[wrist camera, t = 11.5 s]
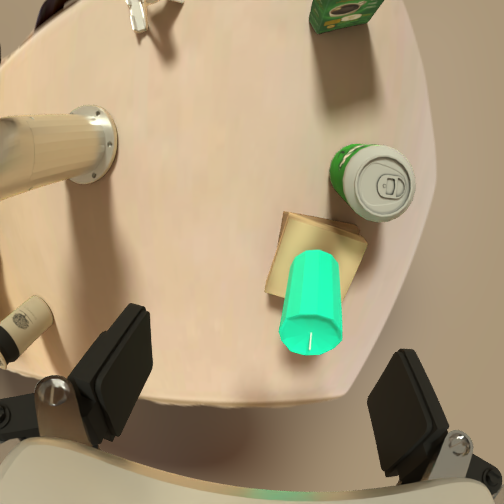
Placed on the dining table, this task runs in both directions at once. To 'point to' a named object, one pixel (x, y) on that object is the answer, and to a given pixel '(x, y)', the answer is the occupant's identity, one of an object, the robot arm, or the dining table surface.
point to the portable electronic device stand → (141, 13)
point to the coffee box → (341, 13)
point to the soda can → (373, 180)
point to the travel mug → (23, 329)
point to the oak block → (314, 238)
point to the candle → (312, 304)
